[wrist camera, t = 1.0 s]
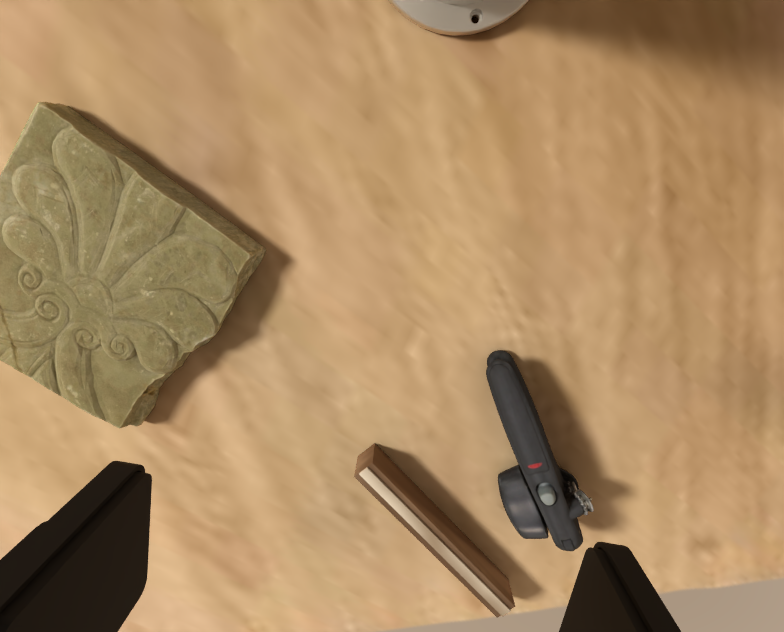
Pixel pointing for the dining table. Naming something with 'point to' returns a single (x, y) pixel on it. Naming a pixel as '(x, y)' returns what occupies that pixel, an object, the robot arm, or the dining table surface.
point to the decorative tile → (107, 267)
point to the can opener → (533, 465)
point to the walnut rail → (434, 529)
